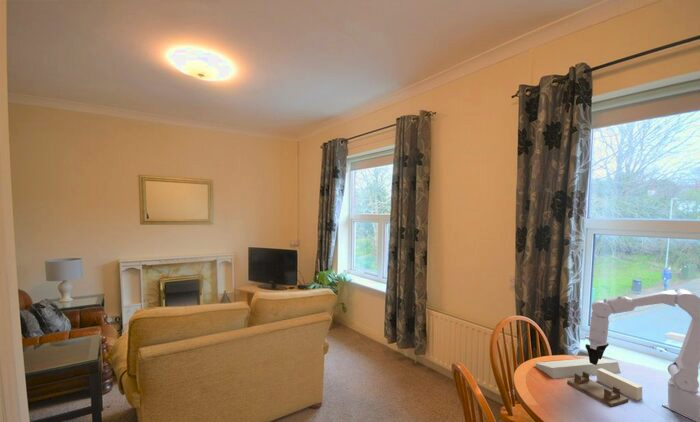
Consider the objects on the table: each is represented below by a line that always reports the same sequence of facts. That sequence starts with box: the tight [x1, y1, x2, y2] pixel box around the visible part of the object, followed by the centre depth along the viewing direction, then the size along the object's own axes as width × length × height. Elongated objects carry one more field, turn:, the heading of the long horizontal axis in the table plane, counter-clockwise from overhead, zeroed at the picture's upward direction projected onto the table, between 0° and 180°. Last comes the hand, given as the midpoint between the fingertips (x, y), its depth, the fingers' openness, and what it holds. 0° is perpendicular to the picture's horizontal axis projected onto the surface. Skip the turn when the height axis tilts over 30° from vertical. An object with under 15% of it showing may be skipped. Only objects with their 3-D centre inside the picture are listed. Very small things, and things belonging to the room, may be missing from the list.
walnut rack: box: [566, 371, 629, 408], centre depth 118 cm, size 16×10×4 cm, turn 18°
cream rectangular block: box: [596, 368, 643, 401], centre depth 120 cm, size 14×3×5 cm, turn 19°
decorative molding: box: [535, 357, 621, 380], centre depth 135 cm, size 34×5×10 cm
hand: (595, 360), depth 123 cm, fingers open, 7 cm apart
